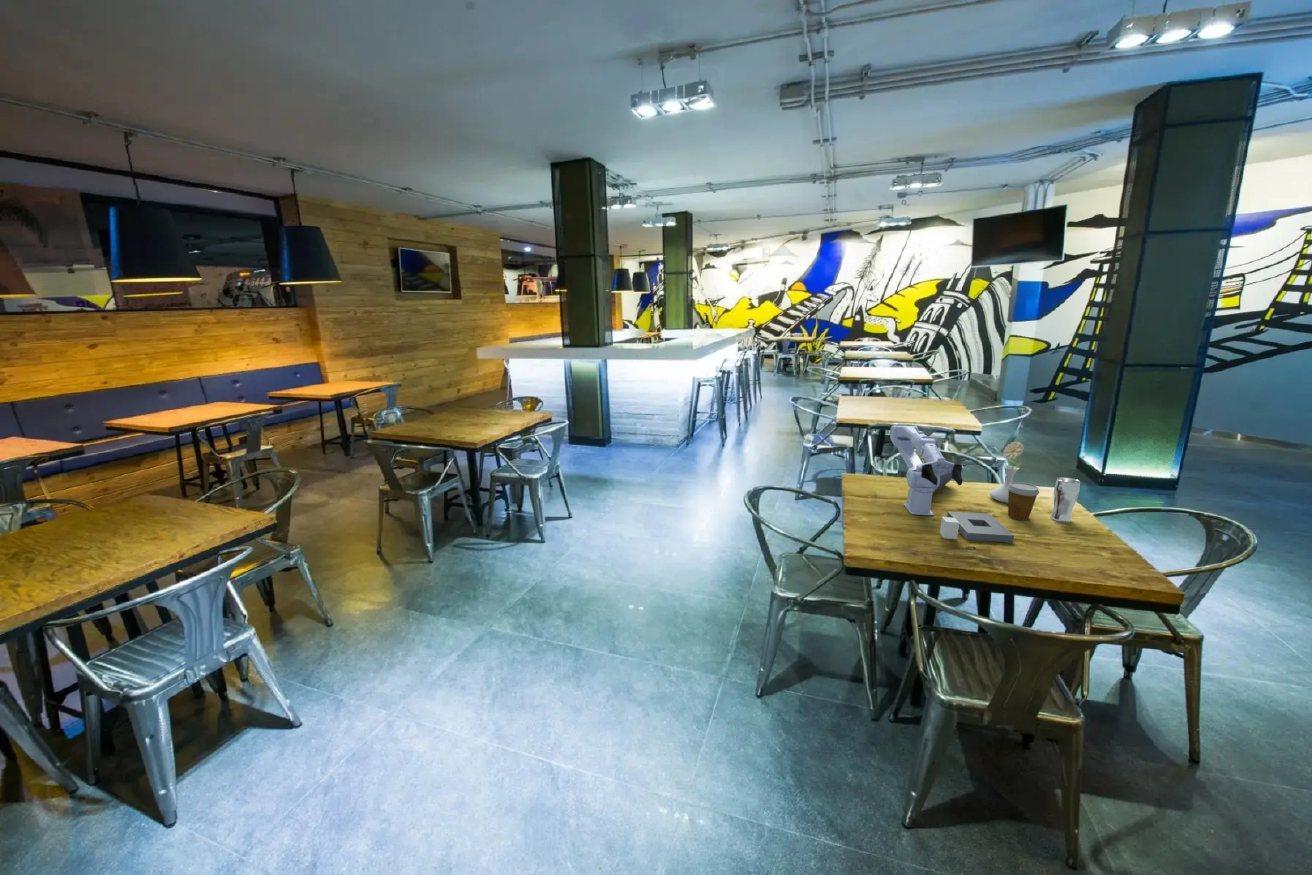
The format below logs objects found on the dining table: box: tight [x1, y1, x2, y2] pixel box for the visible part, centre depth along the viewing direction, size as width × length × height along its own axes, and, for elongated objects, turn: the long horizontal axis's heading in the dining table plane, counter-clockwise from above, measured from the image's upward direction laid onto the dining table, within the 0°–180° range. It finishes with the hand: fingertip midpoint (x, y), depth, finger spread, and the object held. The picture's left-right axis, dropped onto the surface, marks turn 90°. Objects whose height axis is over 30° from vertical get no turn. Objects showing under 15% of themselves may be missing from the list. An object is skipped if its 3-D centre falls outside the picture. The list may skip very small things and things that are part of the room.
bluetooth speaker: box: [933, 473, 953, 494], centre depth 215 cm, size 23×9×10 cm, turn 133°
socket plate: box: [946, 511, 1015, 544], centre depth 179 cm, size 18×14×2 cm
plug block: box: [939, 516, 959, 540], centre depth 174 cm, size 4×4×6 cm
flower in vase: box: [989, 440, 1025, 504], centre depth 201 cm, size 13×11×25 cm
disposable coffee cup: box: [1007, 481, 1040, 521], centre depth 188 cm, size 10×10×12 cm
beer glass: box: [1050, 476, 1081, 524], centre depth 185 cm, size 7×7×15 cm
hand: (948, 482), depth 170 cm, fingers open, 7 cm apart
